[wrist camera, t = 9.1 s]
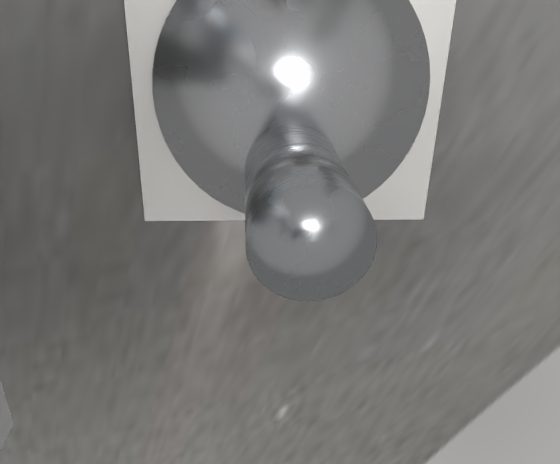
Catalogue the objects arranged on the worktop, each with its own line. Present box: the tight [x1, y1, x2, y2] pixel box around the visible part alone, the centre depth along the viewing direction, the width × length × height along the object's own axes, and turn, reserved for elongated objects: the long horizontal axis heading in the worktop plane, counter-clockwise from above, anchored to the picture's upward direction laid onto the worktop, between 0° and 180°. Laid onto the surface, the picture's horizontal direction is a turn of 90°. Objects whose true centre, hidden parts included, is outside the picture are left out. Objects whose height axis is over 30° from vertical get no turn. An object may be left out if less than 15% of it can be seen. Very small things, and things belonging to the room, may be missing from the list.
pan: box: [152, 0, 430, 214], centre depth 21 cm, size 11×11×1 cm
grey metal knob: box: [245, 124, 377, 301], centre depth 19 cm, size 4×4×7 cm
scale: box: [124, 0, 456, 221], centre depth 20 cm, size 13×16×7 cm
